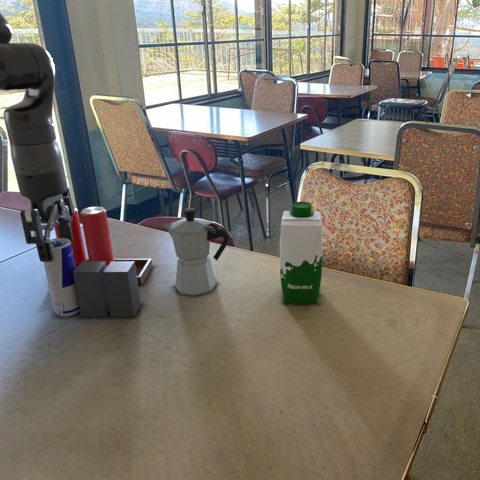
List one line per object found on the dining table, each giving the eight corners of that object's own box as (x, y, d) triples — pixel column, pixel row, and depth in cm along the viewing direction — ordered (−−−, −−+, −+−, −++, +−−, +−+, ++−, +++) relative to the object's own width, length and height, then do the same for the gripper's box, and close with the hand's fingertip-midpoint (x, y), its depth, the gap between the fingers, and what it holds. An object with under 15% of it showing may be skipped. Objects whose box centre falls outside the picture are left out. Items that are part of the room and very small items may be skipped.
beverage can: (88, 311, 96) (75, 242, 89) (61, 321, 92) (46, 250, 86) (76, 301, 99) (63, 234, 93) (50, 311, 95) (35, 242, 89)
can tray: (51, 285, 104) (49, 277, 103) (69, 266, 113) (67, 258, 112) (141, 285, 105) (140, 277, 105) (152, 266, 114) (151, 258, 113)
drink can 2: (88, 278, 106) (76, 214, 100) (96, 268, 111) (85, 206, 105) (111, 278, 107) (100, 214, 101) (118, 268, 111) (108, 206, 105)
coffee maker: (159, 292, 103) (150, 213, 96) (177, 273, 111) (170, 199, 104) (225, 300, 101) (221, 220, 94) (239, 280, 109) (236, 206, 101)
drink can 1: (60, 278, 106) (46, 213, 100) (69, 268, 111) (57, 205, 104) (83, 278, 106) (71, 214, 100) (92, 268, 111) (80, 206, 105)
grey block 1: (81, 317, 93) (72, 271, 89) (90, 305, 98) (82, 261, 94) (105, 317, 94) (97, 272, 90) (113, 305, 98) (105, 261, 94)
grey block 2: (110, 317, 94) (103, 271, 90) (118, 305, 98) (111, 261, 94) (134, 317, 94) (127, 271, 90) (140, 305, 98) (134, 261, 94)
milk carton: (320, 285, 108) (322, 201, 100) (321, 306, 100) (324, 216, 92) (281, 284, 108) (280, 200, 99) (279, 306, 99) (278, 216, 91)
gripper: (36, 156, 90) (54, 236, 96) (-7, 178, 77) (17, 268, 83) (77, 156, 90) (92, 236, 97) (42, 178, 77) (61, 268, 84)
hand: (57, 250), depth 90 cm, fingers open, 8 cm apart
